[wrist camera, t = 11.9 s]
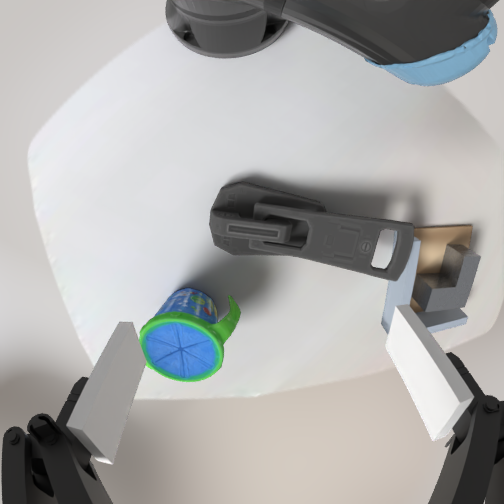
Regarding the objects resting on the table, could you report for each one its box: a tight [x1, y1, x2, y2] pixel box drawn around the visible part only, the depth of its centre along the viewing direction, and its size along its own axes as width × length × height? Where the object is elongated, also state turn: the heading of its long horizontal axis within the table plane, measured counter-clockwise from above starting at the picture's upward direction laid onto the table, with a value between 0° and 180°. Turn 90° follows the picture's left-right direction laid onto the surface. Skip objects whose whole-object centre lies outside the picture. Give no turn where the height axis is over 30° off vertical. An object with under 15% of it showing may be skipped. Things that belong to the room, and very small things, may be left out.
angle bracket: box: [411, 244, 481, 312], centre depth 38 cm, size 9×9×5 cm
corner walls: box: [381, 231, 468, 334], centre depth 39 cm, size 16×16×5 cm
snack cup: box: [139, 288, 241, 382], centre depth 37 cm, size 16×10×10 cm
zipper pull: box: [209, 182, 414, 282], centre depth 35 cm, size 9×7×25 cm
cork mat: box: [409, 225, 473, 313], centre depth 40 cm, size 15×14×1 cm
